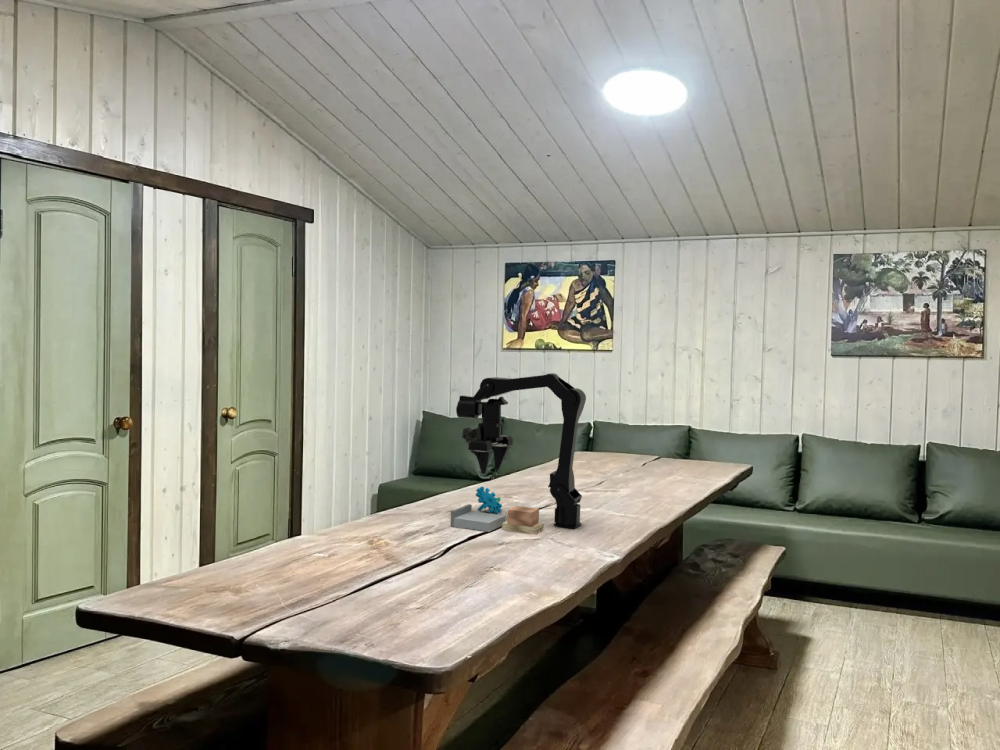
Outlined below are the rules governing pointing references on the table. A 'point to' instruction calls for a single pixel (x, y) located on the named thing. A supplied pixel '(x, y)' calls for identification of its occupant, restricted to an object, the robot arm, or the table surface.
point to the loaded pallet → (523, 529)
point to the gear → (488, 500)
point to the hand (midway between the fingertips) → (490, 471)
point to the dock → (475, 519)
